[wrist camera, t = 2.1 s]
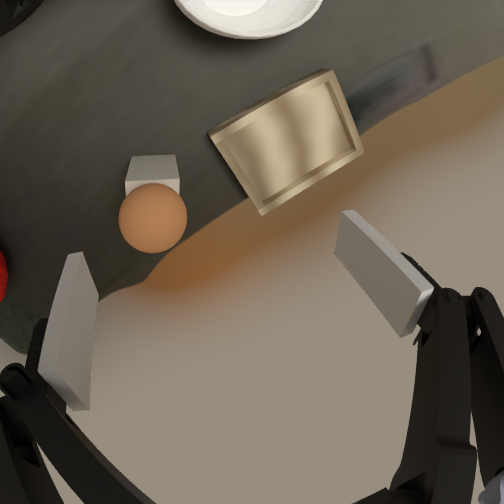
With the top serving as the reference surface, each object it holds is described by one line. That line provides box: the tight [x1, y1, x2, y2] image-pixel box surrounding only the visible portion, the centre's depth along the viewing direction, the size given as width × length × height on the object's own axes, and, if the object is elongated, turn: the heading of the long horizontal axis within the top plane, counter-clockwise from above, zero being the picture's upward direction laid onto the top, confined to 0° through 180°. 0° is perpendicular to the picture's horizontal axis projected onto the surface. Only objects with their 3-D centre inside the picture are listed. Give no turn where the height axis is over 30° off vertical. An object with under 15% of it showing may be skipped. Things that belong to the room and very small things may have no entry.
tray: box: [207, 69, 365, 216], centre depth 35 cm, size 16×12×2 cm
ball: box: [119, 183, 187, 253], centre depth 25 cm, size 6×6×6 cm
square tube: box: [125, 155, 180, 196], centre depth 30 cm, size 5×5×8 cm
